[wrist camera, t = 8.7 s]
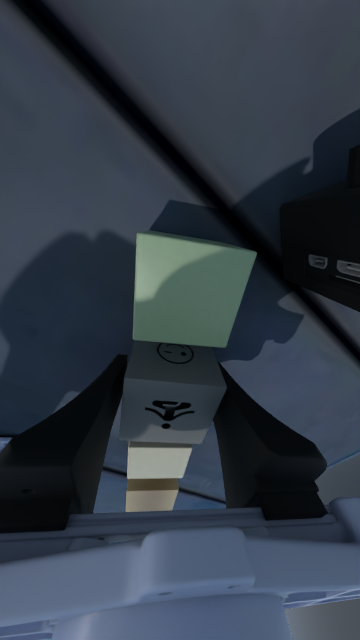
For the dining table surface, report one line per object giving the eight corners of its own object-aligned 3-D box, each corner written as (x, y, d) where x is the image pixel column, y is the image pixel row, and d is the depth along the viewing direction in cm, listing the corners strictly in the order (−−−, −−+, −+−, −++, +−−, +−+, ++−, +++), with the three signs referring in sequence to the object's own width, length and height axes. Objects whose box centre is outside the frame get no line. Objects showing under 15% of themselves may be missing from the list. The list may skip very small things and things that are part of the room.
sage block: (143, 303, 12) (132, 340, 8) (148, 229, 10) (136, 231, 6) (207, 310, 12) (226, 348, 8) (224, 242, 10) (258, 252, 6)
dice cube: (206, 334, 13) (226, 387, 9) (191, 382, 15) (201, 444, 11) (139, 324, 12) (123, 377, 8) (132, 376, 15) (118, 440, 10)
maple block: (133, 458, 21) (125, 512, 17) (134, 436, 19) (126, 491, 15) (170, 458, 21) (171, 510, 17) (176, 436, 19) (178, 490, 15)
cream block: (135, 423, 18) (126, 479, 14) (137, 392, 16) (128, 447, 12) (179, 424, 18) (182, 478, 14) (186, 395, 16) (192, 448, 12)
